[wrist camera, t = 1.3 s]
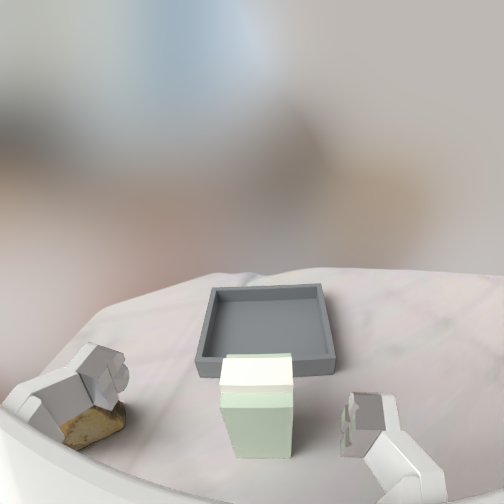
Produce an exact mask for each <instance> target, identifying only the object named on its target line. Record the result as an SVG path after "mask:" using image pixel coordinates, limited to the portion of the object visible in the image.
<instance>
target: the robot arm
mask: <svg viewBox="0 0 504 504" xmlns="http://www.w3.org/2000/svg"><path fill="white" fill-rule="evenodd" d="M124 361H125V357H124V354H123V353H121V352H118V351H115V350H112V349H109V348H106V347H103V346H100V345H97V344H94V343H91V342H88V343H86V344H85V345H84V346H83V347H82V349H81V350H80V351H79V352H78V353H77V354H76V356H75V357H74V358H73V359H72V360H71V362H70V363H69V364H68V365H67V366H66V368H65V367H61V368H58V369H56V370H53V371H51V372H48V373H46V374H43V375H41V376H38V377H36V378H34V379H31V380H28V381H26V382H23V383H21V384H18V385H17V386H16V387H15V388H14V390H12V392H11V393H10V394H9V395H8V397H7V398H6V399H5V400H4V401H3V402H2V404H1V405H0V504H233V503H228V502H223V501H218V500H214V499H209V498H205V497H201V496H197V495H193V494H189V493H185V492H182V491H178V490H175V489H171V488H168V487H165V486H161V485H158V484H155V483H152V482H149V481H146V480H144V479H141V478H138V477H135V476H133V475H130V474H127V473H125V472H122V471H120V470H117V469H115V468H112V467H110V466H108V465H105V464H103V463H101V462H99V461H96V460H94V459H92V458H90V457H88V456H86V455H83V454H81V453H79V452H77V451H75V450H73V449H71V448H69V447H68V446H66V445H64V444H62V442H63V441H64V439H65V437H64V434H63V433H62V431H61V430H60V428H59V426H61V425H62V424H64V423H66V422H67V421H69V420H71V419H72V418H74V417H76V416H77V415H79V414H81V413H82V412H84V411H85V410H87V409H89V408H90V407H92V406H93V405H96V406H99V407H102V408H104V409H107V410H110V411H112V409H113V408H114V406H115V405H116V403H117V401H118V400H119V396H118V393H120V392H122V391H124V390H125V388H126V386H127V384H128V381H129V371H128V368H127V367H126V366H125V364H124ZM340 431H341V432H342V433H343V437H342V439H341V441H340V457H360V458H363V459H364V460H365V462H366V464H367V465H368V467H369V468H370V470H371V471H372V473H373V474H374V476H375V477H376V479H377V480H378V482H379V483H380V485H381V486H382V488H383V489H384V491H385V493H386V494H385V495H384V496H383V497H382V498H381V499H380V500H379V501H378V502H377V503H375V504H504V487H503V488H500V489H497V490H494V491H490V492H487V493H484V494H480V495H476V496H473V497H469V498H465V499H461V500H456V501H452V502H448V497H447V490H446V484H445V477H444V472H443V470H442V469H441V468H440V467H439V466H438V465H437V464H436V463H435V462H434V461H433V460H432V459H431V458H430V457H429V456H428V454H427V453H426V452H425V451H424V450H423V449H422V448H421V447H420V446H419V445H418V444H417V443H416V442H415V441H414V440H413V439H412V437H411V436H410V435H409V434H408V433H407V432H406V431H405V430H401V426H400V421H399V415H398V409H397V404H396V399H395V395H394V394H393V393H367V392H351V394H350V395H349V398H348V405H346V406H345V407H344V410H343V412H342V417H341V424H340Z"/></svg>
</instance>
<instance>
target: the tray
mask: <svg viewBox="0 0 504 504" xmlns="http://www.w3.org/2000/svg"><path fill="white" fill-rule="evenodd" d="M282 353H291V357H292V372H293V377H302V376H318V375H331V374H333V372H334V366H335V360H336V356H335V350H334V345H333V340H332V335H331V329H330V324H329V319H328V314H327V310H326V305H325V300H324V295H323V291H322V286H321V283H320V284H300V285H278V286H252V287H220V288H212V290H211V295H210V299H209V303H208V307H207V311H206V315H205V319H204V323H203V328H202V332H201V336H200V340H199V345H198V349H197V353H196V358H195V364H196V367H197V370H198V373H199V376H200V377H205V378H220V377H221V370H222V363H223V358H226V357H227V354H282Z"/></svg>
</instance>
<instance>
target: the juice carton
mask: <svg viewBox="0 0 504 504" xmlns="http://www.w3.org/2000/svg"><path fill="white" fill-rule="evenodd" d="M219 386H220V390H221V400H220V410H221V413H222V417H223V420H224V423H225V426H226V429H227V432H228V434H229V437H230V440H231V443H232V446H233V449H234V452H235V454H236V457H237V458H291V445H292V427H293V372H292V357H291V353H282V354H227V357H226V358H223V363H222V370H221V377H220V384H219Z"/></svg>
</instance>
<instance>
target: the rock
mask: <svg viewBox="0 0 504 504" xmlns="http://www.w3.org/2000/svg"><path fill="white" fill-rule="evenodd" d="M124 424H125V409H124V406H123V402H120V401H119V400H118V401H117V403H116V405H115V406H114V408H113V409H112V411H110V410H107V409H104V408H102V407H99V406H96V405H93V406H92V407H90V408H89V409H87V410H85V411H84V412H82V413H81V414H79V415H77V416H76V417H74V418H72V419H71V420H69V421H67V422H66V423H64V424H62V425H61V426H59V428H60V430H61V431H62V433H63V434H64V437H65V439H64V441H63V442H62V444H64V445H66V446H68V447H69V448H71V449H73V450H75V451H78V450H79V449H81V448H83V447H86V446H88V445H89V444H91V443H93V442H95V441H99V440H101V439H103V438H105V437H108V436H109V435H111V434H112V433H114V432H117V431H119V430H121V429H122V428H123V427H124Z"/></svg>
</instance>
